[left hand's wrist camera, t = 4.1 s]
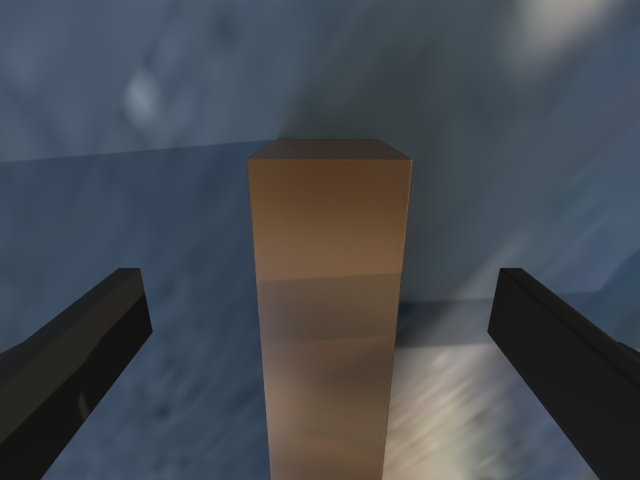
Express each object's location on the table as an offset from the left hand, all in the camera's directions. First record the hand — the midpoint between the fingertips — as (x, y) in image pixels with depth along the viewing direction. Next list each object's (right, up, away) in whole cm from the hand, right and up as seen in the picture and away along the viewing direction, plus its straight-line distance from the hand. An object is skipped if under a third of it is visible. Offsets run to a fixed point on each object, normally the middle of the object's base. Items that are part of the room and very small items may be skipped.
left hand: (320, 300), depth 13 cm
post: (0, -28, +19) cm, 33 cm away
